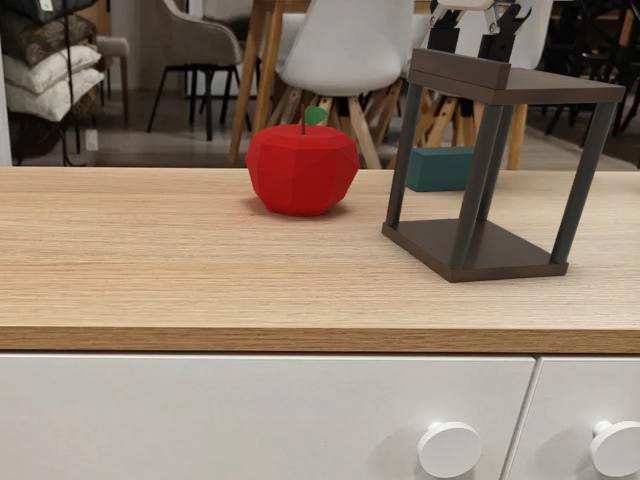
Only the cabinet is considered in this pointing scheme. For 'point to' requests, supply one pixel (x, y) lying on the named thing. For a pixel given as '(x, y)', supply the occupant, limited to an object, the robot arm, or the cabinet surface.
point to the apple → (302, 165)
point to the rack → (492, 167)
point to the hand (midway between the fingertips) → (461, 73)
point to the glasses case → (439, 168)
